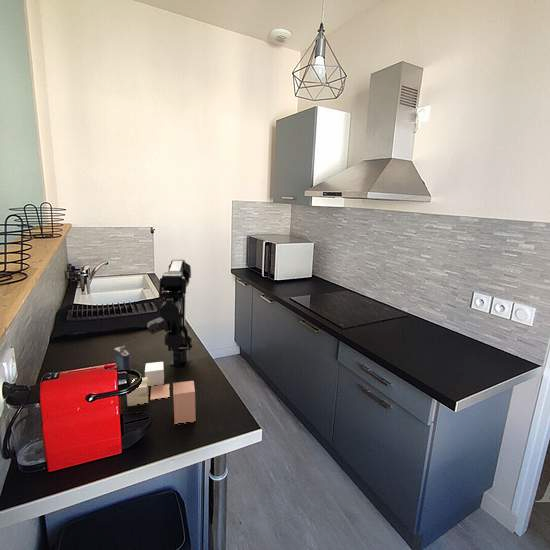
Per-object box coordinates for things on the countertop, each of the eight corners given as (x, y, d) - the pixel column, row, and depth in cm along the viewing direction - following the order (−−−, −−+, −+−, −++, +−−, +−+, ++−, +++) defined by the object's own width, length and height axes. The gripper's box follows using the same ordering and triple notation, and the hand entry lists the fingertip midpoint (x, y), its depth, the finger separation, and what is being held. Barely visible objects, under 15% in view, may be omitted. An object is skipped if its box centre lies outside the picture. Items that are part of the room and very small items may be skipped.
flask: (114, 369, 125) (112, 343, 123) (122, 367, 128) (120, 341, 125) (125, 379, 120) (123, 352, 117) (133, 376, 122) (131, 349, 119)
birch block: (129, 395, 110) (128, 379, 109) (148, 393, 112) (147, 377, 110) (127, 406, 104) (126, 389, 103) (147, 403, 106) (146, 386, 105)
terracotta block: (174, 412, 102) (173, 383, 100) (194, 409, 104) (193, 380, 102) (174, 424, 96) (173, 394, 94) (195, 421, 98) (195, 391, 96)
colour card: (151, 387, 115) (151, 386, 115) (169, 384, 117) (169, 383, 117) (150, 400, 108) (150, 399, 108) (169, 397, 110) (169, 396, 109)
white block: (146, 378, 121) (145, 363, 119) (164, 376, 122) (163, 361, 121) (145, 387, 115) (144, 371, 114) (163, 385, 117) (163, 369, 116)
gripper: (149, 303, 118) (151, 343, 121) (146, 322, 100) (149, 368, 104) (181, 301, 121) (183, 341, 125) (184, 319, 104) (185, 364, 107)
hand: (175, 352), depth 115 cm, fingers closed
